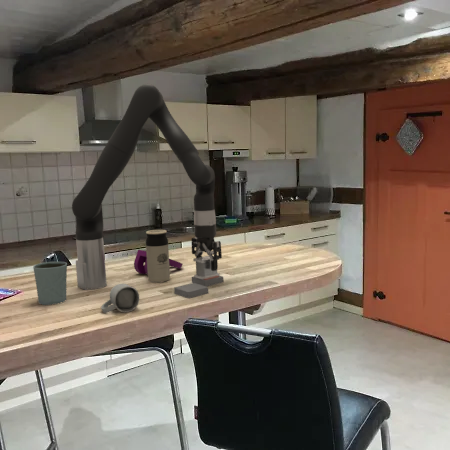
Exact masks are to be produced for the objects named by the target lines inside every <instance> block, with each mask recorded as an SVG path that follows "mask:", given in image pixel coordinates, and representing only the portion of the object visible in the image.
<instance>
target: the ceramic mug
mask: <svg viewBox="0 0 450 450" xmlns="http://www.w3.org/2000/svg"><path fill="white" fill-rule="evenodd" d="M139 304H140V293H139V291H138V290H137V289H136V288H135V287H133V286H131V285H129V284H126V283H118V284H115V285H114V286H113V287H112V288H111V289H110V292H109V300H107V301H106V302H104V303H103V304H102V305H101V307H100V310H101V311H102V312H103V313H104V314H107V313H111V312H112V311H113V310H115V309H117V310H118V311H119V312H121V313H129V312H133V311H134V310H135V309H136V308H137V307H138V306H139Z"/></svg>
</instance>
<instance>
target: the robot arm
mask: <svg viewBox="0 0 450 450" xmlns="http://www.w3.org/2000/svg"><path fill="white" fill-rule="evenodd" d="M131 97H132V98H131V100H130V101H129V104H128V106H127V109H126V111H125V112H124V115H123V117H122V118H121V120H120V121H119V123H118V125H117V126H116V127H115V130H114V131H113V132H112V134H111V136H110V138H109V139H108V140H107V143H106V144H105V145H104V148H103V149H102V151H101V153H100V155H99V157H98V159H97V161H96V163H95V165H94V167H93V169H92V171H91V174H90V175H89V178H88V180H87V181H86V182H85V183H84V185H83V187H82V188H81V190H79V192H78V193H77V195H76V196H75V197H74V199H73V201H72V203H71V210H72V214H73V215H74V217H75V223H76V226H75V243H76V255H77V259H76V260H75V271H76V281H77V288H79V289H81V290H84V291H85V290H86V291H88V290H96V289H101V288H104V287H106V286H107V285H108V284H107V283H108V282H107V280H108V279H107V269H106V258H105V257H106V256H105V245H104V244H105V243H104V218H103V216H104V215H103V214H104V213H103V201H104V198H105V197H106V195H107V193H108V192H109V190H110V188H111V186H113V184H114V183H115V181H116V180H117V179H118V178H119V176H120V175H121V174H122V172H123V171H124V170H125V169H126V167H127V165H128V163H129V162H130V159H131V158H132V156H133V154H134V152H135V150H136V147H137V144H138V142H139V138H140V134H141V132H142V129H143V128H144V126H145V124H146V122H147V121H148V119H150V120H151V121H152V123H153V124H155V125H156V127H157V128H158V129H159V131H160V132H161V134H162V136H163V137H164V139H165V140H166V142H167V144H168V146H169V147H170V149H171V151H172V152H173V154H175V156H176V157H177V159H178V160H179V161H180V163H181V164H182V166H183V168H184V170H185V172H186V174H187V176H188V178H189V179H190V180H191V182H192V183H193V184H194V185H195V194H194V195H193V196H194V197H193V208H194V209H193V221H194V222H193V228H194V237H191V254H192V255H194V257H195V258H199V257H203V254H204V253H206V255H207V256H210V258H211V270H212V271H216V270H217V271H218V268H219V267H218V266H219V265H218V264H219V263H218V259H219V260H220V259H222V258H223V257H222V256H223V255H222V244H221V241H220V240H218V241H215V237H216V236H217V222H216V221H217V220H216V219H217V217H216V210H215V198H214V197H215V195H214V194H215V185H216V183H215V182H216V175H215V170H214V169H213V167H211V166H210V165H208V164H205V163H204V162H203V160H202V158H201V157H200V155H199V151H198V149H197V148H196V146H195V145H194V143H193V142H192V140H191V139H190V138H189V137H188V135H187V134H186V133H185V131H184V130H183V128H181V127H180V125H179V124H178V122H177V121H176V120H175V118H174V117H173V115H172V114H171V113H170V110H169V108H168V107H167V106H168V105H167V104H166V102H165V100H164V97H163V95H162V93H161V91H159V89H158V88H157V87H156V86H155V85H154V84H150V83H144V84H142V85H140V86H138V87H137V88H136V90H135V91H134V93H133V95H132V96H131ZM213 256H214V257H213Z"/></svg>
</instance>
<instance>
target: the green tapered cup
mask: <svg viewBox="0 0 450 450" xmlns="http://www.w3.org/2000/svg"><path fill="white" fill-rule="evenodd" d="M32 269H33V274H34V281H35V284H36V293H37V301H38V304H39V305H41V304H42V305H43V306H52V304H53V305H57V304H58V303H59V304H62V303H64V302H66V301H67V285H68V284H67V278H68V275H67V273H68V272H67V271H68V263H67V262H65V261H45V262H40V263H36V264H34V265H33V266H32ZM65 300H66V301H65ZM61 302H62V303H61ZM42 305H41V306H42Z"/></svg>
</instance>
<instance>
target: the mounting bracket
mask: <svg viewBox="0 0 450 450" xmlns="http://www.w3.org/2000/svg"><path fill="white" fill-rule="evenodd" d="M183 264H184V263H182V262H179V261H176V260H174V259H172V258H169V267H170V268H171V267H172V268H175V269H179V270H181V269H182V267H183ZM133 267H134V271H136V272H137V274H142V275H147V276H148V270H147V254H146V250H142V249H138V250H137V252H136V255H135V259H134V261H133Z"/></svg>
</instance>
